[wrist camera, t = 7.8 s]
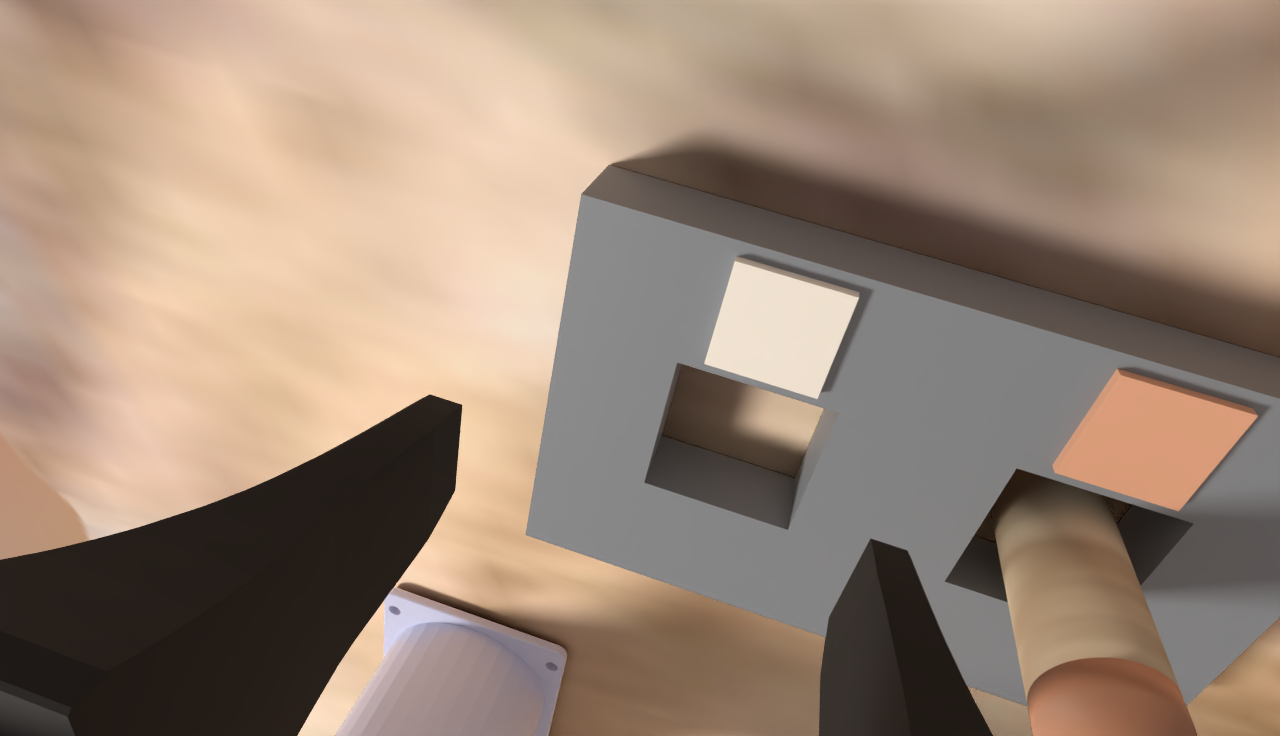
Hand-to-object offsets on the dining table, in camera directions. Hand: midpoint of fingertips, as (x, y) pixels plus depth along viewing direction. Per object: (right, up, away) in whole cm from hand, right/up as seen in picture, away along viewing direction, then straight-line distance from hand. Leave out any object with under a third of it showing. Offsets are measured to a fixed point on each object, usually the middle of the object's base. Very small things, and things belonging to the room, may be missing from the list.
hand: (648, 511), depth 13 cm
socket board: (+7, 0, +10) cm, 12 cm away
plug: (+12, -1, +9) cm, 15 cm away
